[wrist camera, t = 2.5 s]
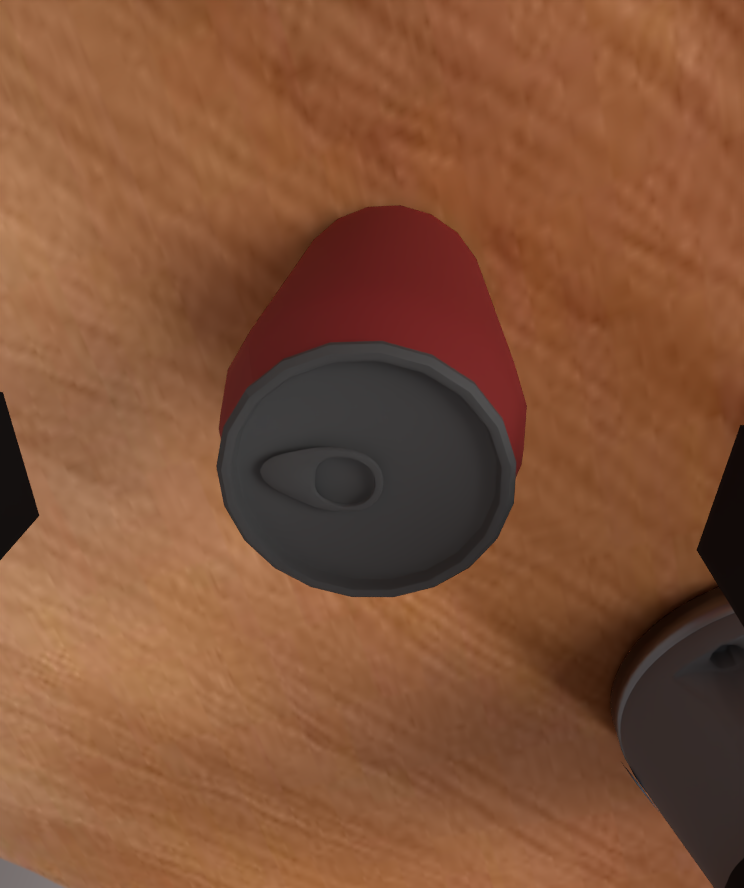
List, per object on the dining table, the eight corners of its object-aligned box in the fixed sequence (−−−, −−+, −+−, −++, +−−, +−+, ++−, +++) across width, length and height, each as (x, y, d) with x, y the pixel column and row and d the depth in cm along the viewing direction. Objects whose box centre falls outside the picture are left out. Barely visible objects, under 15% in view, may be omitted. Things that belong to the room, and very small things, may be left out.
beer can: (300, 190, 21) (179, 290, 10) (501, 214, 20) (590, 340, 10) (291, 376, 24) (194, 599, 13) (465, 397, 24) (505, 637, 13)
